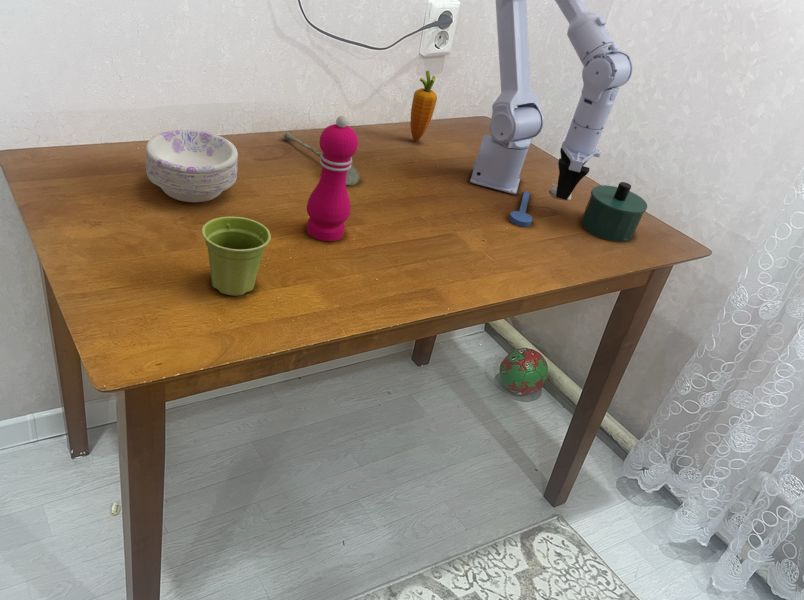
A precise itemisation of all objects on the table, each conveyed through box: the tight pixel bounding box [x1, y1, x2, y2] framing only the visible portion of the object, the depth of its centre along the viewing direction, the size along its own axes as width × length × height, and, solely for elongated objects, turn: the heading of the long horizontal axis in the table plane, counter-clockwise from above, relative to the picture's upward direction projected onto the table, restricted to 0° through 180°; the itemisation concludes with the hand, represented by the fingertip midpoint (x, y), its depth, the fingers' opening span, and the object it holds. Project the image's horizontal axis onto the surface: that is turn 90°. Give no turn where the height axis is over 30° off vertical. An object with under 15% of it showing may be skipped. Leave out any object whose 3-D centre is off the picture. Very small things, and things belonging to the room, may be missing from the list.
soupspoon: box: [282, 131, 361, 186], centre depth 140 cm, size 22×3×7 cm
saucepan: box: [581, 194, 644, 242], centre depth 135 cm, size 10×10×6 cm
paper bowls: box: [145, 129, 239, 203], centre depth 122 cm, size 15×15×8 cm
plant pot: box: [201, 215, 272, 297], centre depth 101 cm, size 9×9×9 cm
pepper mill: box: [306, 115, 359, 242], centre depth 114 cm, size 7×7×20 cm
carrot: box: [409, 70, 438, 143], centre depth 152 cm, size 5×5×15 cm
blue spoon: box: [508, 190, 533, 227], centre depth 138 cm, size 4×15×1 cm, turn 163°
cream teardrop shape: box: [548, 183, 573, 201], centre depth 135 cm, size 4×5×2 cm
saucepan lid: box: [590, 181, 648, 214], centre depth 133 cm, size 10×10×4 cm
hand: (562, 192), depth 135 cm, fingers closed on cream teardrop shape, 4 cm apart
